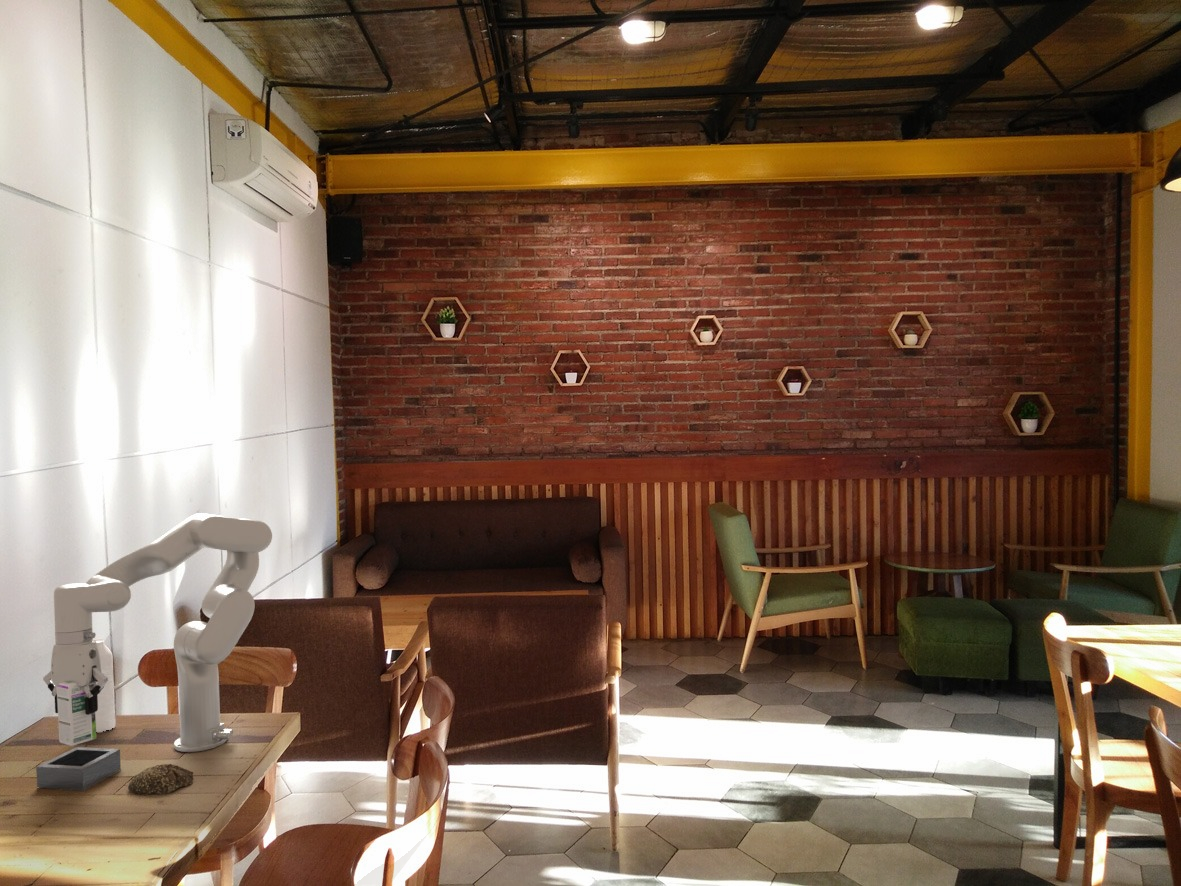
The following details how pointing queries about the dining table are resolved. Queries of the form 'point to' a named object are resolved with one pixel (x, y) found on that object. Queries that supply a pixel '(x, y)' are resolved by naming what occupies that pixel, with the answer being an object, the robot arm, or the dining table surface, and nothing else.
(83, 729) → the syrup box
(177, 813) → the dining table surface
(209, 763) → the dining table surface
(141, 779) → the bread roll
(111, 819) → the dining table surface
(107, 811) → the dining table surface
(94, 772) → the socket
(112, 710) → the water bottle
